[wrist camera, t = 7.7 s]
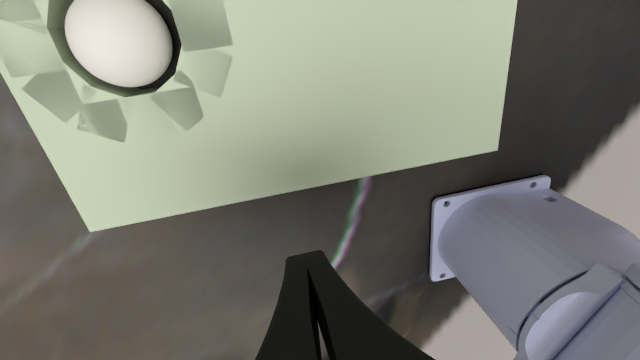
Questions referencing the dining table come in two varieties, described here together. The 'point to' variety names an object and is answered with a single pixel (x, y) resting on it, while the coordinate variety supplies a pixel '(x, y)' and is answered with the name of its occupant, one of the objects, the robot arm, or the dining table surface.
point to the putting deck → (262, 99)
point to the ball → (119, 40)
